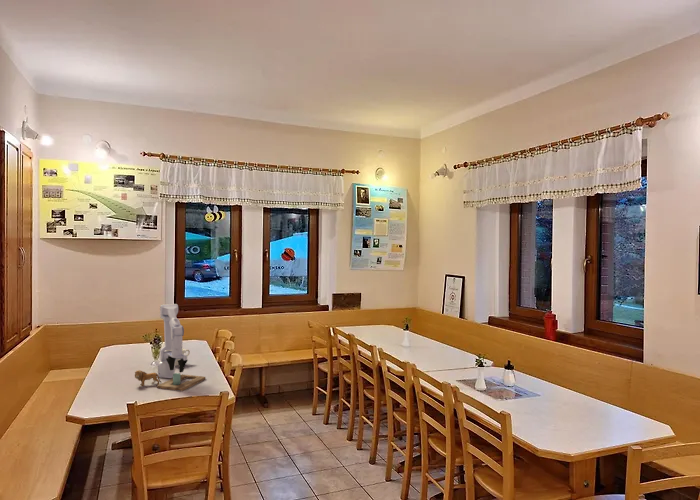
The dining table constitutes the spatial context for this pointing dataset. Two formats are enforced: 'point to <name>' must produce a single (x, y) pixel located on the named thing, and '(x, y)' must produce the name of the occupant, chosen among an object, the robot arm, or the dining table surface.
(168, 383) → the brown wooden frame
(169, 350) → the teacup
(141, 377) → the lion figurine
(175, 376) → the teal peg
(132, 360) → the dining table surface
